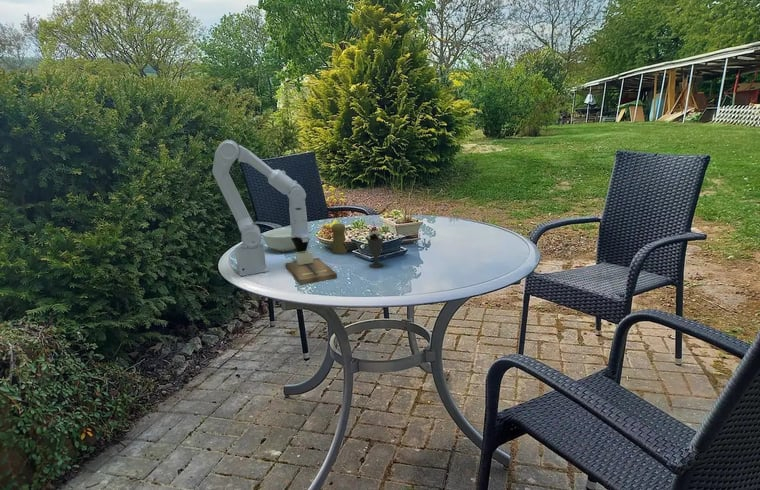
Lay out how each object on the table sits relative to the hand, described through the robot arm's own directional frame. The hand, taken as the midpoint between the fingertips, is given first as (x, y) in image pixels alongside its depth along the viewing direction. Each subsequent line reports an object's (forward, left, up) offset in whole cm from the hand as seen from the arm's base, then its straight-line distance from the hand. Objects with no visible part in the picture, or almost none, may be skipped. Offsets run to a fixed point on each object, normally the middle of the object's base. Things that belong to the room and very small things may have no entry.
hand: (302, 257), depth 157 cm
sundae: (+22, -15, -3) cm, 27 cm away
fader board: (0, -10, -3) cm, 10 cm away
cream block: (0, -4, -1) cm, 4 cm away
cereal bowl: (0, +24, -3) cm, 25 cm away
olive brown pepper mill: (+17, +8, -3) cm, 19 cm away
